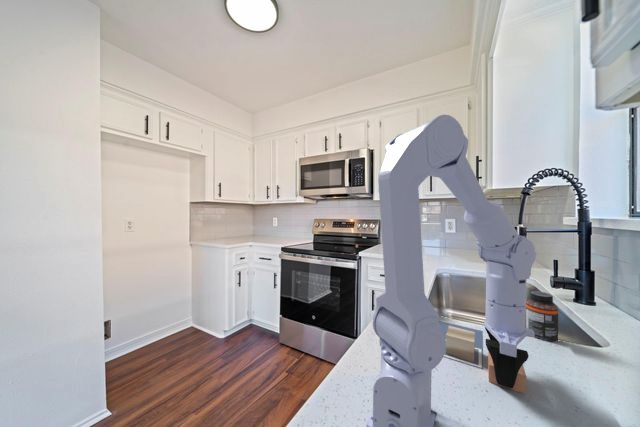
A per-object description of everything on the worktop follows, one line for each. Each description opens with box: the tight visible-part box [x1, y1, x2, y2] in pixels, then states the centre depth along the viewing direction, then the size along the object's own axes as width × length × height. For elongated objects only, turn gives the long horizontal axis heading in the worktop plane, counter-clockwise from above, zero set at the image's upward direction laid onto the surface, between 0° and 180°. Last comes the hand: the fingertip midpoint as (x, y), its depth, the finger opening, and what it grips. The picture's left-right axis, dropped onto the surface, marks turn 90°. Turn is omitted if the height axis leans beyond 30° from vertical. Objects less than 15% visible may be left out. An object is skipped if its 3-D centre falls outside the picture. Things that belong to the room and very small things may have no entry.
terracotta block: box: [487, 350, 527, 395], centre depth 43 cm, size 5×5×4 cm
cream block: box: [446, 326, 475, 362], centre depth 51 cm, size 5×5×4 cm
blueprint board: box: [439, 320, 484, 370], centre depth 57 cm, size 18×14×1 cm
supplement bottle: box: [525, 290, 559, 343], centre depth 59 cm, size 6×6×11 cm
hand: (503, 376), depth 43 cm, fingers closed on terracotta block, 5 cm apart
